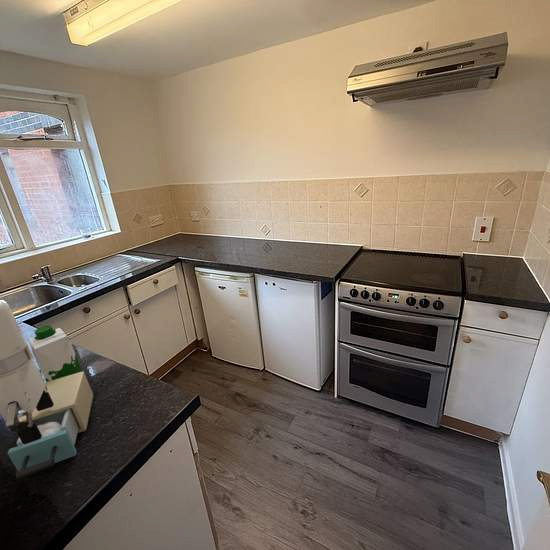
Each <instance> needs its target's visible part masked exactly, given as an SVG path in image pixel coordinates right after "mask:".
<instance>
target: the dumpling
mask: <svg viewBox="0 0 550 550" xmlns="http://www.w3.org/2000/svg"><path fill="white" fill-rule="evenodd" d="M37 427H38V429H39V431H40V433H41V435H42V437H41V438H43V437H46V436H49V435H52V434H55V433H57V432H60V431H62V430H61V424H60V423H58V422H49V423H46V424H44V425H39V426H37Z"/></svg>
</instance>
